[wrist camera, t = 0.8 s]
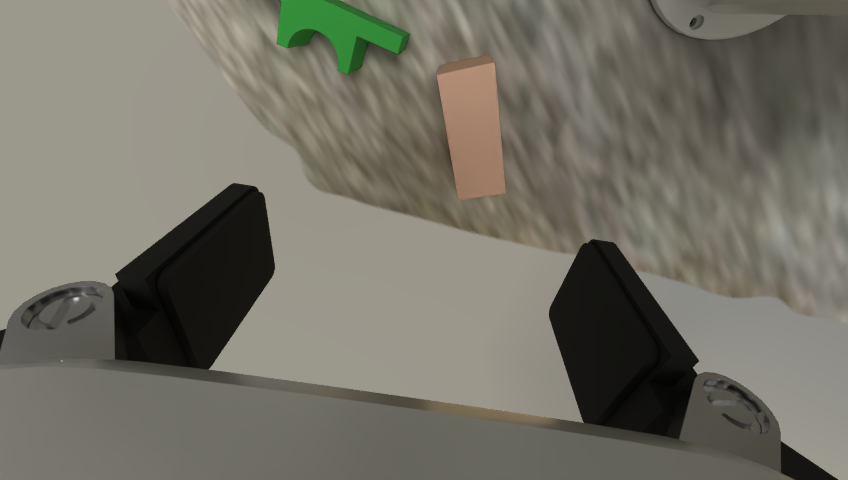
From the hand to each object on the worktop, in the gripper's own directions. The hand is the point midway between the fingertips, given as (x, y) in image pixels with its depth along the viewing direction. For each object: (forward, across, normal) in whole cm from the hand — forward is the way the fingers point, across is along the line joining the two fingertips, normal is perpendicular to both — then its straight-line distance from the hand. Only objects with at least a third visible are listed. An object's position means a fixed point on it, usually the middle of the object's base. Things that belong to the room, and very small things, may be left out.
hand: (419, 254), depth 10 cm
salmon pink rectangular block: (+23, -3, +2) cm, 23 cm away
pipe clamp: (+23, +9, -4) cm, 25 cm away
